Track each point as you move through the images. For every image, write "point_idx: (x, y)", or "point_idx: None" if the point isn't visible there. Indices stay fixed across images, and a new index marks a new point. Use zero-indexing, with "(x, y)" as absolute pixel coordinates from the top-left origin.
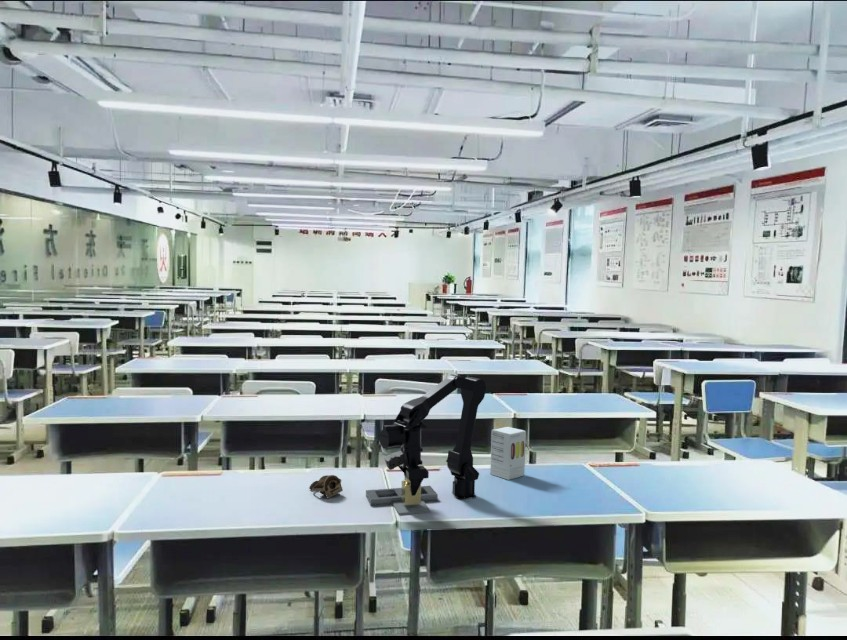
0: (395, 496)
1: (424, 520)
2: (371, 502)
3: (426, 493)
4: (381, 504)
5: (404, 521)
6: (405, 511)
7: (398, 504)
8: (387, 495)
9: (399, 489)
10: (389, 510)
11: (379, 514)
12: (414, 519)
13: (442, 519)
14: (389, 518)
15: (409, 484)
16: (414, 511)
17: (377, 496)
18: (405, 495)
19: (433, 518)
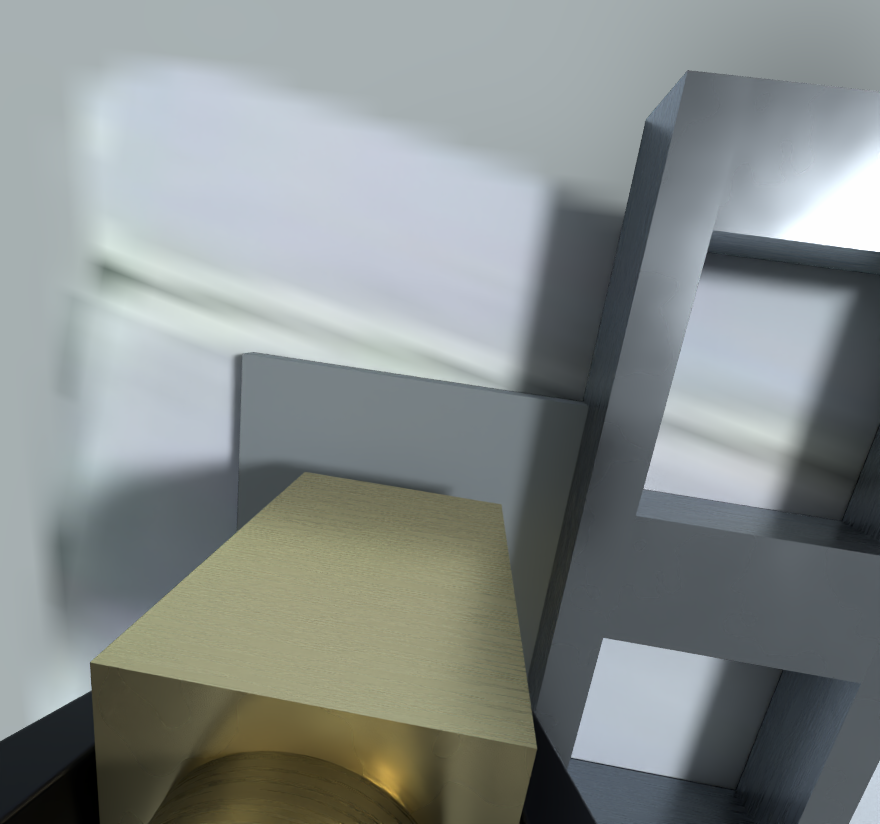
0: (640, 476)
1: (77, 520)
2: (663, 109)
3: (622, 811)
4: (614, 269)
5: (83, 342)
6: (267, 436)
7: (491, 445)
8: (877, 448)
9: (874, 622)
10: (412, 302)
11: (330, 143)
12: (114, 450)
13: (74, 654)
14: (188, 219)
15: (175, 788)
16: (244, 517)
17: (772, 231)
18: (236, 533)
19: (107, 604)
